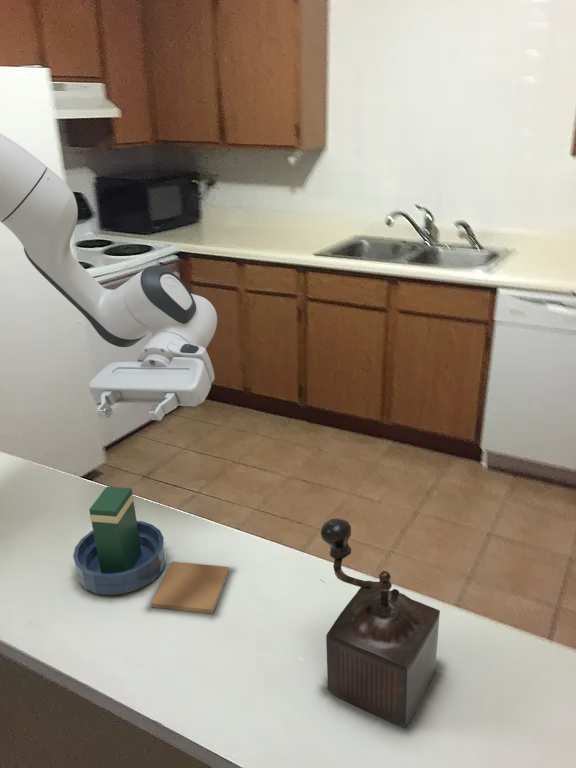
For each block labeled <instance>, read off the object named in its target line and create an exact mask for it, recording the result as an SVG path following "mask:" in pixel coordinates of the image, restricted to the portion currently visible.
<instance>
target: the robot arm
mask: <svg viewBox="0 0 576 768" xmlns="http://www.w3.org/2000/svg"><path fill="white" fill-rule="evenodd" d="M78 210H79V209H78V203H77V199H76V196H75V194H74V192H73V190H72V189H71V187H69V186H68V184H67V183H66V182H65V181H64V180H63V179H62V178H61V177H60V176H59V175H57V174H56V172H54V171H53V170H51V168H49V167H48V166H47V165H46V164H44V163H43V162H42V161H41V160H40V159H38V158H37V157H36V156H35V155H33V154H32V153H31V152H29V151H28V150H27V149H25V148H24V147H22V146H21V145H20V144H18V143H17V142H15V141H13V140H12V139H11V138H9V137H7V136H6V135H3V134H2V133H0V223H1V224H2V225H4V226H5V227H6V228H7V229H8V230H9V231H10V232H11V233H13V235H14V236H15V237H16V238H17V239H18V241H19V242H20V243H21V245H22V246H23V251H24V254H25V256H26V258H27V259H28V261H29V262H30V264H31V265H32V266H33V267H34V268H35V270H37V272H38V273H39V274H40V275H41V276H42V277H43V278H44V279H45V280H47V281H48V283H49V284H50V285H51V286H52V287H54V288H55V289H56V291H58V292H59V293H60V294H61V295H62V296H63V297H64V298H65V299H66V300H67V301H68V302H69V303H71V304H72V305H73V307H75V309H77V310H78V311H79V312H80V313H81V314H82V316H83V317H85V319H87V321H88V322H89V323H90V325H91V326H92V328H93V329H94V330H95V332H96V333H97V334H98V335H99V336H100V337H101V338H102V340H104V341H105V342H107V343H108V344H111V345H113V346H115V347H118V348H130V347H132V346H134V345H136V344H137V343H139V342H140V341H141V340H142V339H143V338H145V337H146V336H147V335H148V334H150V333H151V338H150V339H149V341H148V342H146V344H145V346H144V347H143V348H142V350H141V351H140V352H139V354H138V356H137V361H136V360H134V361H133V360H132V361H126V360H122V361H121V360H120V361H114V362H111V363H109V364H107V365H106V366H105V367H104V368H103V369H101V370H100V371H99V372H98V373H97V374H96V375H95V376H94V377H93V378H92V379H91V380H90V382H89V383H88V389H89V391H90V394H91V397H92V398H93V400H94V401H95V403H99V404H100V405H98V407H97V409H96V413H97V415H98V417H99V418H100V419H110V418H111V415H113V413H114V411H113V409H112V408H111V407H112V406H114V404H120V405H121V404H122V405H147V406H149V405H150V406H152V407H151V408H150V409H149V411H148V415H149V417H150V420H151V421H162V420H163V418H164V416H165V415H167V414H169V413H171V412H172V411H174V410H175V409H177V407H197V406H199V405H201V404H203V403H204V402H205V400H206V398H207V397H208V395H209V393H210V391H211V388H212V383H213V382H214V381H215V379H216V377H215V372H214V367H213V364H212V361H211V358H210V356H209V354H208V351H207V348H208V347H209V345H210V343H211V341H212V339H213V338H214V336H215V333H216V330H217V328H218V327H217V326H218V313H217V311H216V308H215V307H214V306H213V304H212V303H211V301H209V299H207V298H206V297H203V296H201V295H197V294H195V293H191V291H190V289H189V288H188V286H187V285H186V284H185V283H184V281H183V280H182V279H181V278H180V277H179V276H178V275H176V274H175V273H174V272H172V271H171V270H169V269H167V268H165V267H162V266H158V265H150V266H147V267H145V268H144V269H142V270H141V271H139V272H138V273H136V274H135V275H134V276H132V277H130V278H129V279H128V280H127V281H125V282H124V283H122V284H121V285H120V286H118V287H117V288H115V289H109V288H105V287H104V286H103V285H101V284H100V282H98V280H96V278H94V276H93V275H91V274H90V272H88V270H87V269H86V268H85V267H83V265H82V264H81V263H79V261H78V260H76V257H75V256H74V254H73V253H72V249H71V241H72V237H73V235H74V232H75V229H76V226H77V222H78V215H79V214H78V213H79V212H78Z"/></svg>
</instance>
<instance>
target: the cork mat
mask: <svg viewBox="0 0 576 768" xmlns="http://www.w3.org/2000/svg"><path fill="white" fill-rule="evenodd" d="M229 573H230V567H229V566H224V565H223V566H222V565H213V564H202V563H201V564H200V563H190V562H179V561H171V563H170V565H169V567H168V569H167V570H166V572H165V575H164V577H163V579H162V581H161V582H160V585H159V586H158V588H157V590H156V592H155V594H154V596H153V598H152V600H151V602H150V607H151V608H154V609H164V610H174V611H183V612H184V611H185V612H193V613H201V614H202V613H203V614H211V615H213V614H214V612H215V609H216V607H217V604H218V601H219V600H220V597H221V594H222V592H223V588H224V586H225V583H226V580H227V579H228V575H229Z"/></svg>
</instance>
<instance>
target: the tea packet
mask: <svg viewBox="0 0 576 768" xmlns="http://www.w3.org/2000/svg"><path fill="white" fill-rule="evenodd" d="M134 500H135V499H134V493H133V489H132V487H121V486H120V487H119V486H106V487H105V488H104V489H103V490H102V492H101V493H100V494H99V496H98V497H97V498H96V499H95V501H94V502H93V503H92V505H91V507H89V510H88V511H89V518H90V522H91V526H92V531H93V532H94V538H95V543H96V548H97V554H98V559H99V564H100V570H101V573H106V574H110V573H119V572H124V571H127V570H130V569H133V567H134V565H135V563H136V562H137V560H138V558H139V557H140V555H141V546H140V540H139V533H138V527H137V521H138V519H137V515H136V514H137V513H136V506H135V501H134Z"/></svg>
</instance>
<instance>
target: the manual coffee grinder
mask: <svg viewBox="0 0 576 768" xmlns="http://www.w3.org/2000/svg"><path fill="white" fill-rule="evenodd" d="M351 536H352V526H351V524H350V522H349V521H347V520H345V519H343V518H339V517H337V518H332V519H329V520H327V521H326V522H324V523H323V525H322V527H321V530H320V537H321V539H322V541H324V542H325V543H326V544H327V545H328V546H329V548H330V551H329V557H330V558H332V559H334V560H333V565H332V566H333V567H332V568H333V571H334V576H335V577H336V578H337V579H338V580H339V581H342V582H343V583H346V584H349V585H353V586H355V587H359V589H358V590H357V591H356V593H355V595H353V597H352V598H350V600H349V602H348V603H347V604H346V606H345V607H344V608H343V610H342V611H341V612H340V614H339V615H338V616H337V618H336V619H335V621H334V623H333V624H332V625H331V627H330V629H329V630H328V632H327V633H326V635H325V636H326V638H325V640H326V641H325V642H326V644H325V645H326V668H327V669H326V670H327V671H326V673H327V675H326V676H327V687H326V689H327V692H329V693H331V694H332V695H333V696H335V697H336V698H338V699H339V700H342V701H343V702H346V703H348V704H350V705H352V706H354V707H356V708H358V709H360V710H363V711H365V712H367V713H369V714H371V715H372V716H375V717H378V718H381V719H383V720H385V721H388V722H390V723H392V724H395V725H397V726H399V727H401V728H404V729H406V727H407V725H408V724H409V723H410V721H411V719H412V718H414V716H415V713H416V711H417V709H418V708H419V705H420V703H421V701H422V700H423V698H424V696H425V694H426V693H427V691H428V689H429V686H430V684H431V683H432V681H433V678H434V676H435V674H436V671H437V669H436V667H437V662H436V661H437V653H438V652H437V651H438V641H439V629H440V627H439V626H440V615H441V611H440V609H437V608H435V607H433V606H431V605H427V604H425V603H422V602H420V601H417V600H416V599H412V598H411V597H409V596H407V595H405V594H404V593H402V592H400V591H399V589H396V588H393V589H392V587H393V584H392V582H391V576H392V575H391V574H390V573H389V571H388V570H382V571H381V572H380V573H379V575H378V578H379V581H374V580H363V579H359V578H355V577H352V576H350V575H348V574H346V573H345V572H344V571H343V569H342V563H343V560H345V559H346V558H347V557H348V556H350V555H351V554H352V547H351V546H350V544H349V543H348V542H349V539H350V537H351ZM391 589H392V590H391Z"/></svg>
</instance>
